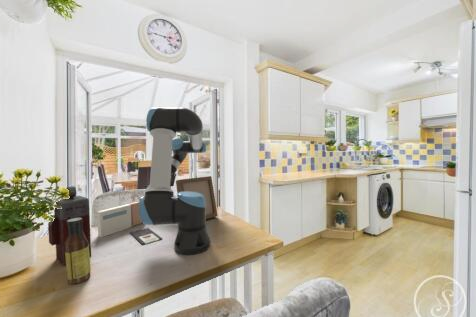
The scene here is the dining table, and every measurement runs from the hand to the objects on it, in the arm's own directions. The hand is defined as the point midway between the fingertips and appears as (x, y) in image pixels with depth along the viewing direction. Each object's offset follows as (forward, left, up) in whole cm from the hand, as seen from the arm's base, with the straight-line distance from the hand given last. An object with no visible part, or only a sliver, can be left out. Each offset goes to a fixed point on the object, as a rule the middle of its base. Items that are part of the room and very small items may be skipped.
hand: (153, 193), depth 133 cm
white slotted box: (-22, +10, -15) cm, 28 cm away
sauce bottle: (-62, -5, -15) cm, 64 cm away
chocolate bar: (-27, -9, -16) cm, 32 cm away
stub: (-10, +5, -15) cm, 19 cm away
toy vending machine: (-50, +9, -15) cm, 53 cm away
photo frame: (0, -26, -15) cm, 30 cm away
